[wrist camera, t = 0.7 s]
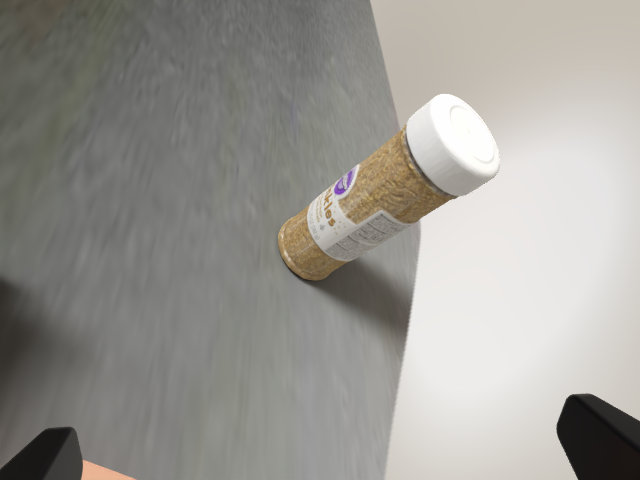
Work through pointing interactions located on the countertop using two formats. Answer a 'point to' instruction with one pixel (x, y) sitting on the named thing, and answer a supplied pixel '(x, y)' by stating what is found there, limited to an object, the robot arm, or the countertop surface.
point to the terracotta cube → (100, 473)
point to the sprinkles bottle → (392, 188)
